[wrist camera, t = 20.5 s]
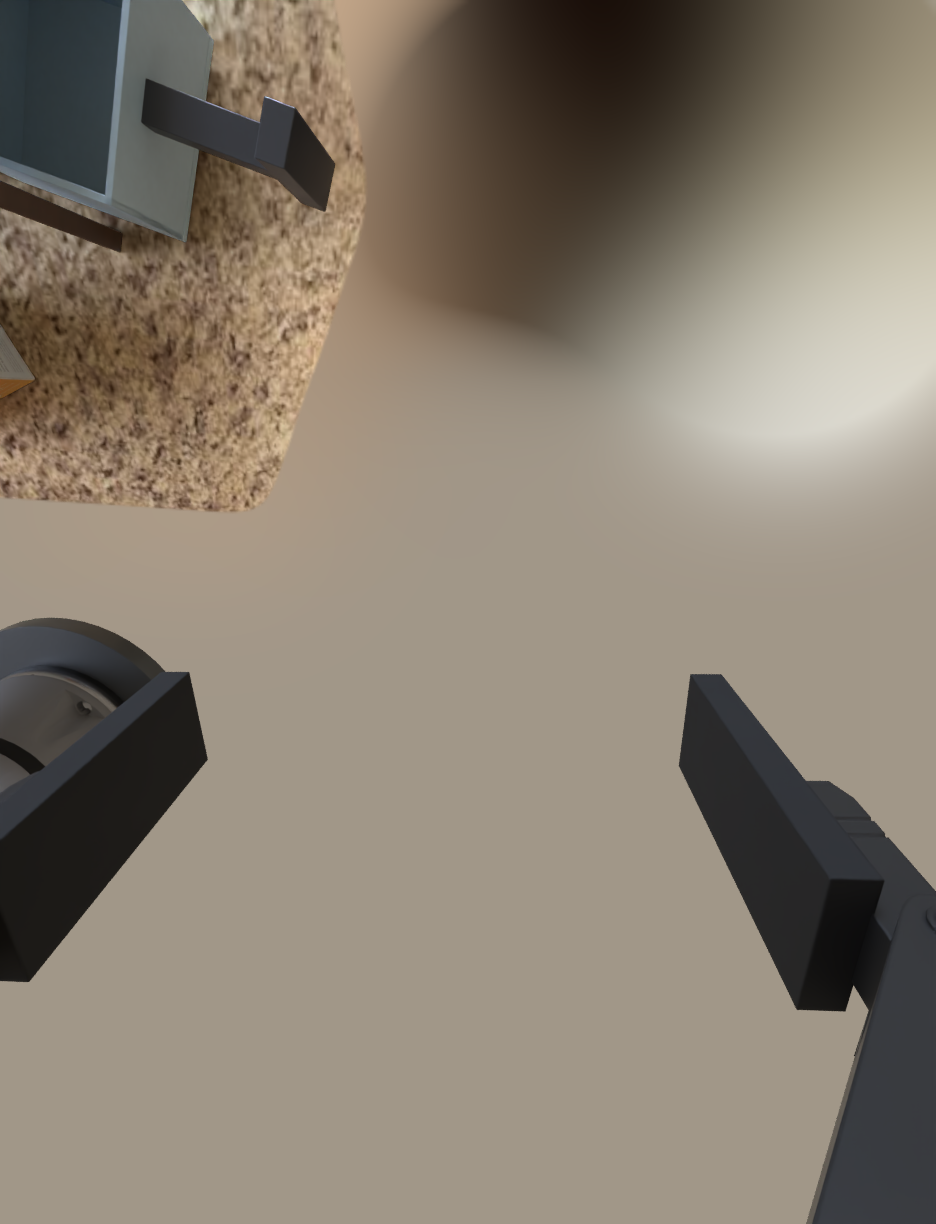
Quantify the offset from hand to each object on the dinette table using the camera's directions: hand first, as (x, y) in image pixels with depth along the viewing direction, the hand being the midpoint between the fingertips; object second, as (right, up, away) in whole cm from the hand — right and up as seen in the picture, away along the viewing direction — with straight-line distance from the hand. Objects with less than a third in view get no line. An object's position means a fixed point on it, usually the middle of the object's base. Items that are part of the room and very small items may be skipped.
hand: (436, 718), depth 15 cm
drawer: (-17, +33, +21) cm, 42 cm away
